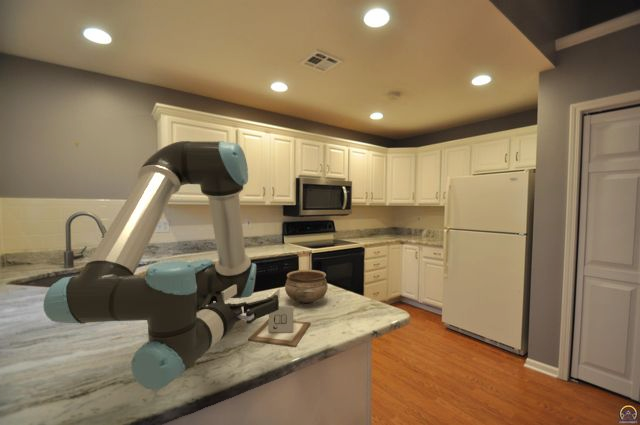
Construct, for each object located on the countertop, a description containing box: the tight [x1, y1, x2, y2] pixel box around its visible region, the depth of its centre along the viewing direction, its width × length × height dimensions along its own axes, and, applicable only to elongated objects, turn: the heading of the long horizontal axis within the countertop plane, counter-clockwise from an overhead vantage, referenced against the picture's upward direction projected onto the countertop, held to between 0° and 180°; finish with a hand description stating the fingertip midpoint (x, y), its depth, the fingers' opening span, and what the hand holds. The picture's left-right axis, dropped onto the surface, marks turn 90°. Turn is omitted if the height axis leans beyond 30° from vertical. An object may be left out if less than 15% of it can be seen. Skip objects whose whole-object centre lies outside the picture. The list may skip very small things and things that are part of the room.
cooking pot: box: [284, 269, 328, 305], centre depth 117 cm, size 25×19×12 cm
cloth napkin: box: [247, 318, 311, 348], centre depth 89 cm, size 16×16×1 cm
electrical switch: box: [268, 305, 295, 333], centre depth 89 cm, size 8×5×8 cm, turn 91°
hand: (256, 290), depth 77 cm, fingers open, 13 cm apart
